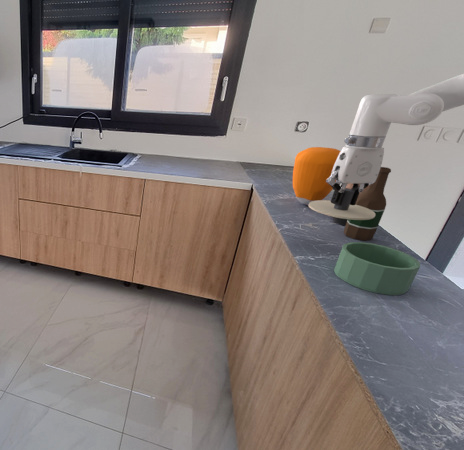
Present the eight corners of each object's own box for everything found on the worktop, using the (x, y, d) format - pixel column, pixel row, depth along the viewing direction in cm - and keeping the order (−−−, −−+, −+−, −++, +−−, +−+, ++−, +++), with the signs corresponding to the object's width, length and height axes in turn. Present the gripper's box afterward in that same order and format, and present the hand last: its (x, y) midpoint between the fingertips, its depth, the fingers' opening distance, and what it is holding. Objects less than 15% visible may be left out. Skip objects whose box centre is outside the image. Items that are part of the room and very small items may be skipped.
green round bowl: (371, 264, 90) (381, 241, 87) (424, 294, 77) (438, 268, 74) (321, 265, 91) (329, 242, 88) (365, 295, 77) (376, 269, 74)
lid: (344, 203, 102) (351, 181, 99) (389, 221, 87) (400, 197, 85) (296, 204, 102) (302, 182, 99) (333, 222, 88) (342, 198, 85)
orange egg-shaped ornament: (278, 197, 147) (293, 143, 137) (321, 200, 142) (339, 144, 132) (290, 209, 132) (307, 150, 122) (338, 213, 127) (360, 151, 117)
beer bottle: (345, 229, 112) (370, 164, 103) (374, 236, 107) (403, 167, 97) (339, 235, 108) (364, 167, 98) (369, 243, 102) (398, 172, 93)
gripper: (345, 144, 83) (324, 208, 90) (408, 143, 83) (381, 207, 90) (324, 140, 90) (306, 200, 97) (382, 139, 90) (359, 199, 97)
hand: (342, 203), depth 94 cm, fingers closed on lid, 3 cm apart
